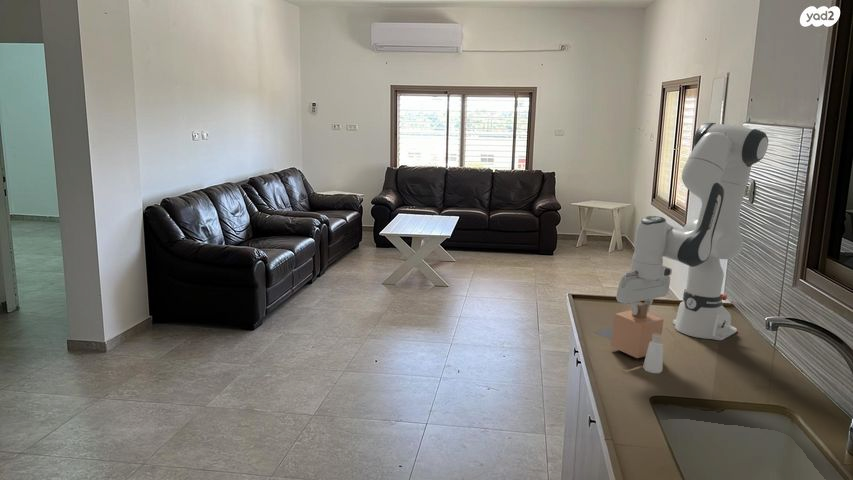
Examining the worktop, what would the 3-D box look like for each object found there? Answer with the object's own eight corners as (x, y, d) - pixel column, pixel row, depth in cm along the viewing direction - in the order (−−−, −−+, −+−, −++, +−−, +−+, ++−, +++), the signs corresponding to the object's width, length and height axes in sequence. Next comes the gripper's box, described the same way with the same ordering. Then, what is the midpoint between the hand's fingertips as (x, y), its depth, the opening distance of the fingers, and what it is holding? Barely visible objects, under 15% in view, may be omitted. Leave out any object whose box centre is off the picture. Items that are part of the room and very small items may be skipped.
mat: (616, 327, 220) (616, 326, 220) (643, 339, 210) (644, 338, 210) (593, 333, 213) (593, 331, 213) (620, 345, 204) (620, 343, 204)
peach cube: (632, 340, 204) (638, 297, 200) (658, 352, 195) (665, 307, 192) (610, 346, 198) (616, 301, 195) (637, 358, 190) (643, 311, 186)
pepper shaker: (662, 375, 183) (667, 339, 181) (642, 371, 185) (647, 336, 183) (662, 367, 188) (667, 333, 186) (643, 364, 190) (647, 330, 188)
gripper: (631, 276, 183) (625, 321, 186) (675, 269, 194) (669, 311, 197) (614, 270, 188) (608, 314, 191) (658, 264, 199) (652, 305, 202)
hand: (639, 313), depth 194 cm, fingers closed on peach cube, 3 cm apart
